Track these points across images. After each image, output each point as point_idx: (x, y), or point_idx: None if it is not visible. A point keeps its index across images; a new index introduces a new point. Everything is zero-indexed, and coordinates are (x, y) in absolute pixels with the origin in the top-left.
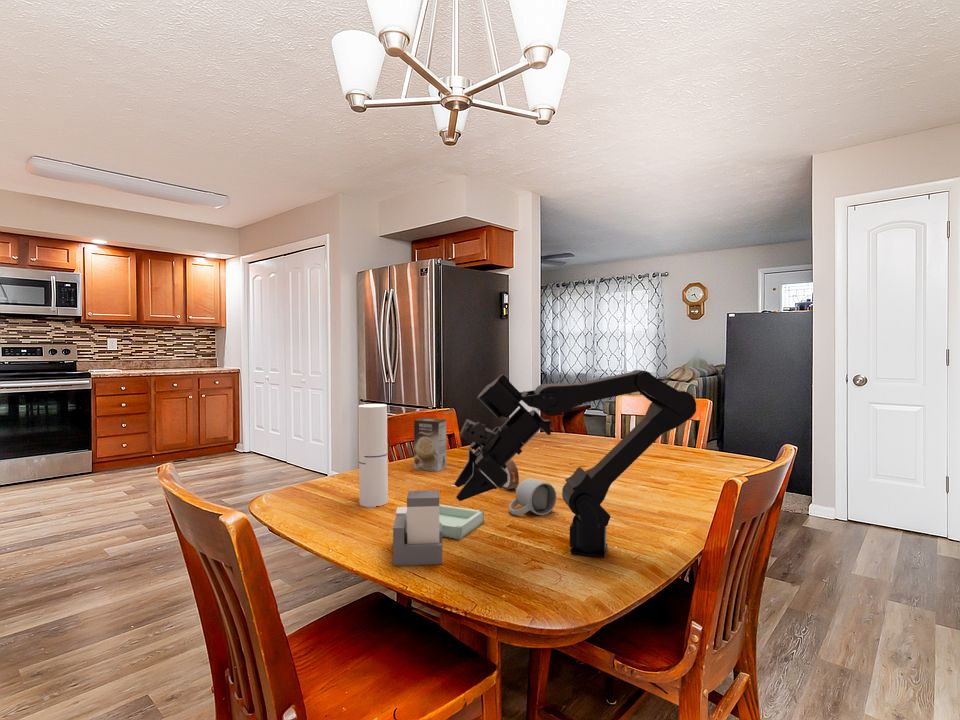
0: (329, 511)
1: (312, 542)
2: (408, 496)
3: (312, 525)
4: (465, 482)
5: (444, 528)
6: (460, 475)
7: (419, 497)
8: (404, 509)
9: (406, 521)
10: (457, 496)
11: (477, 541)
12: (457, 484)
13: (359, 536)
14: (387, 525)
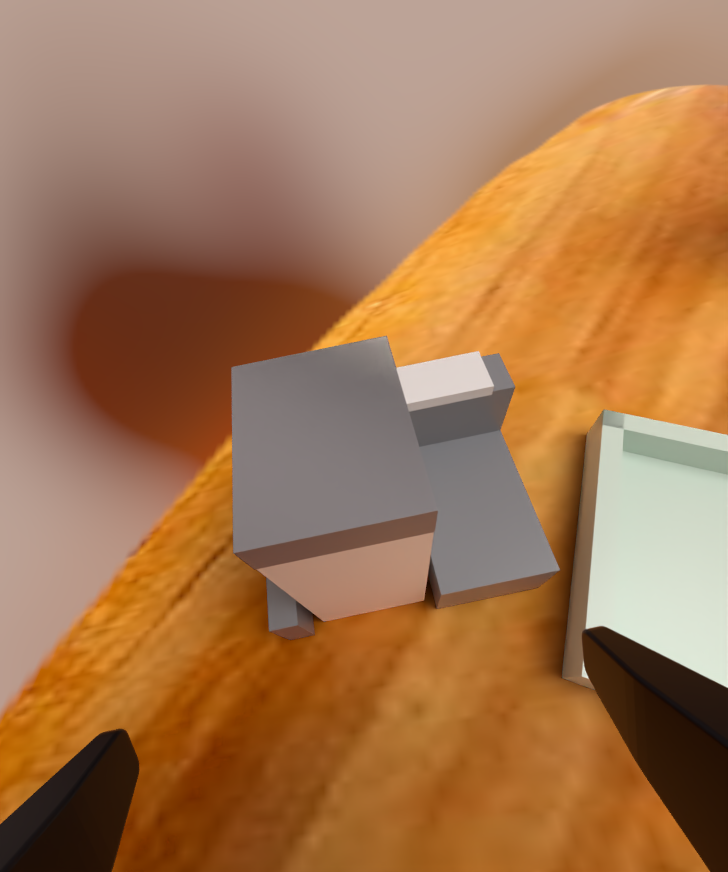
0: (649, 207)
1: (418, 257)
2: (269, 364)
3: (528, 217)
4: (654, 778)
5: (583, 587)
6: (669, 705)
7: (247, 423)
8: (452, 385)
9: (417, 426)
10: (86, 748)
11: (573, 790)
12: (592, 664)
13: (485, 327)
14: (608, 365)
